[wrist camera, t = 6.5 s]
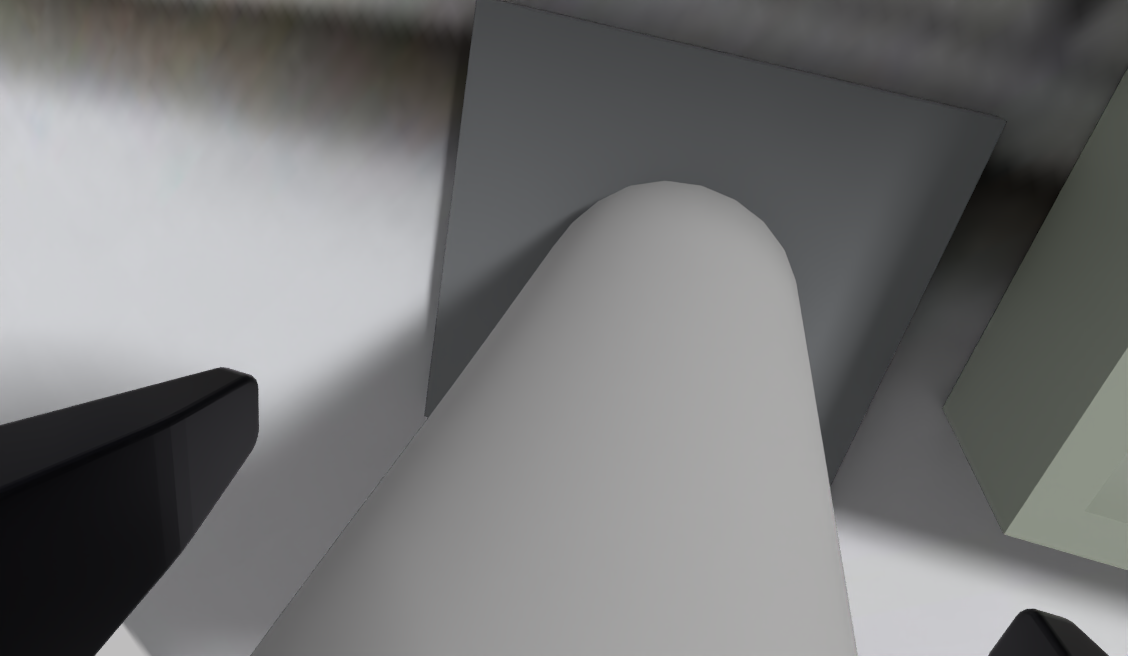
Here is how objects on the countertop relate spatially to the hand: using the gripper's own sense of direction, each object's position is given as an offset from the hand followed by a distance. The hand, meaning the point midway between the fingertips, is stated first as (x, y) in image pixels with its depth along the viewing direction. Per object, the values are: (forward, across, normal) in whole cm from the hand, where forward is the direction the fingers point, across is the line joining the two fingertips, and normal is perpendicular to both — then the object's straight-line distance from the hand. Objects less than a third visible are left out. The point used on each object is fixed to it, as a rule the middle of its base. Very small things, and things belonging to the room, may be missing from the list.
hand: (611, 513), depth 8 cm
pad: (+7, 0, 0) cm, 7 cm away
